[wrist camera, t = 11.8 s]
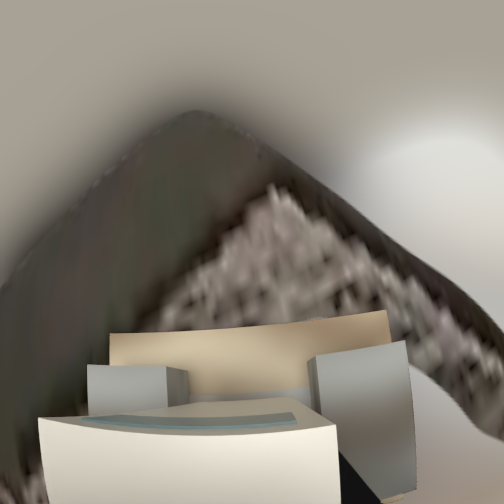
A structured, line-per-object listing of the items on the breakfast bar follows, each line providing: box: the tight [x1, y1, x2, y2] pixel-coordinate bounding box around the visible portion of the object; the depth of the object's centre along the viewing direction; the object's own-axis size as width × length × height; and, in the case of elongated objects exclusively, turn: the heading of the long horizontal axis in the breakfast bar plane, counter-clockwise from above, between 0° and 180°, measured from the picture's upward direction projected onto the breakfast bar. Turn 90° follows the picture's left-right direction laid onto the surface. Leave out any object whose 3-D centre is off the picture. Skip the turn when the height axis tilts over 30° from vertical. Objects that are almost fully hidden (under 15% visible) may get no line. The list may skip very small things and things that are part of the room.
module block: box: [38, 396, 341, 504], centre depth 8 cm, size 5×4×12 cm
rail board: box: [87, 310, 416, 504], centre depth 15 cm, size 13×18×5 cm
